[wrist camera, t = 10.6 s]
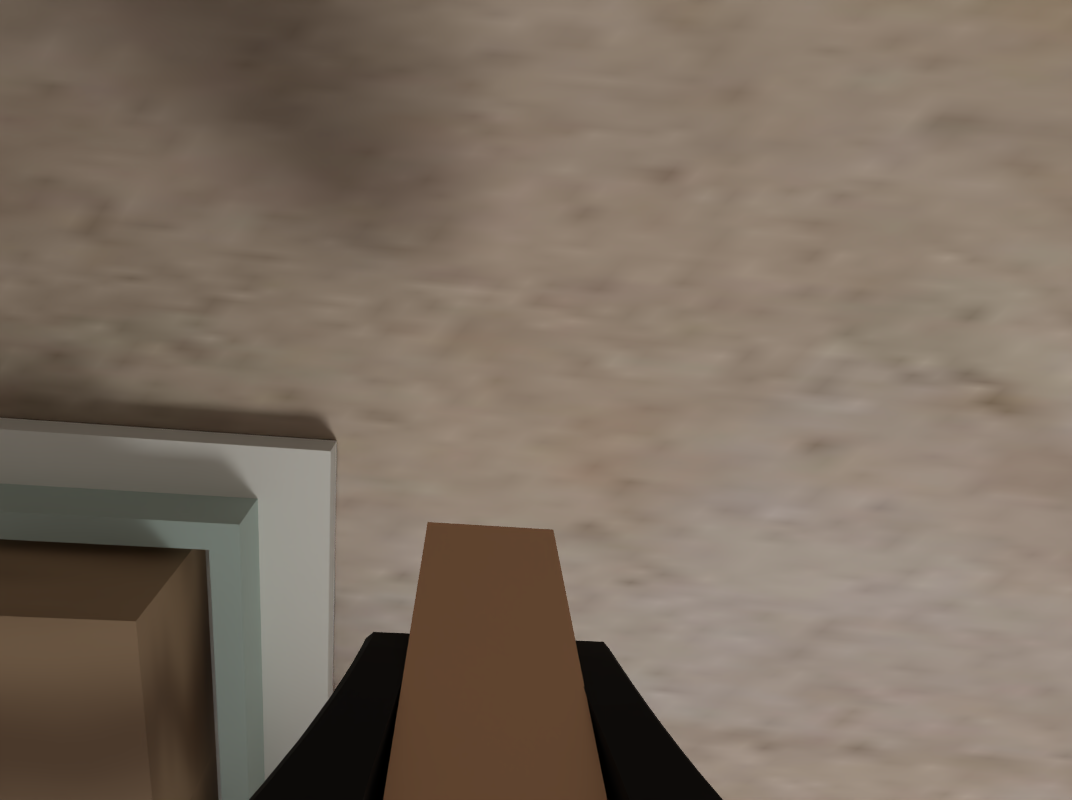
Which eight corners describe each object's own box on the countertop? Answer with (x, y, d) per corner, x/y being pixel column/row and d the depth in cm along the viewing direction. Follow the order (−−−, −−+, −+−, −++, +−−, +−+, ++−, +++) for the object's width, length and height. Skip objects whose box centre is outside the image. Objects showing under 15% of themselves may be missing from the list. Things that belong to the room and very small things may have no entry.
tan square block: (539, 634, 14) (586, 1008, 7) (420, 628, 13) (367, 1012, 7) (553, 529, 13) (617, 850, 7) (427, 522, 13) (375, 848, 6)
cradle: (329, 889, 25) (315, 956, 23) (-18, 888, 24) (-69, 961, 21) (336, 440, 19) (318, 473, 17) (-116, 409, 18) (-197, 441, 16)
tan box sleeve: (220, 845, 23) (168, 977, 19) (65, 843, 22) (-22, 980, 18) (204, 533, 19) (135, 621, 15) (17, 523, 19) (-103, 612, 15)
